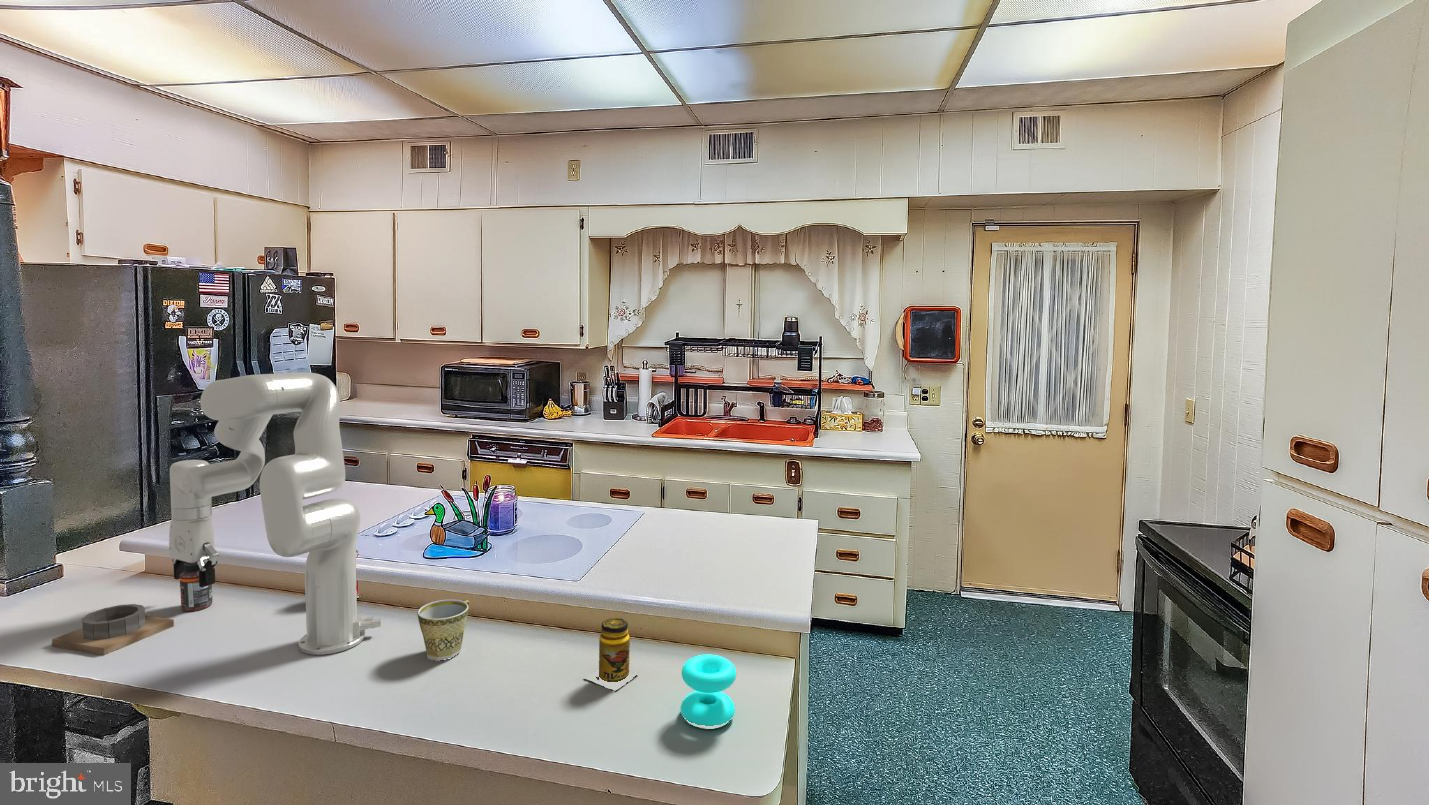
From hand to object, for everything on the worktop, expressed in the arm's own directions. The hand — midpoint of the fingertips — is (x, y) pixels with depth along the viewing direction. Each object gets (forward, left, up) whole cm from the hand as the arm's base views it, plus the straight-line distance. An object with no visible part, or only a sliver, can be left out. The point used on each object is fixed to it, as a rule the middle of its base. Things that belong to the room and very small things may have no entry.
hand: (194, 581), depth 156 cm
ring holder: (+13, +10, -6) cm, 18 cm away
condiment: (-74, +78, -7) cm, 108 cm away
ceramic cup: (-48, +51, -7) cm, 71 cm away
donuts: (-84, +99, -7) cm, 130 cm away
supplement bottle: (0, 0, -7) cm, 7 cm away
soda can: (-31, +11, -7) cm, 34 cm away
